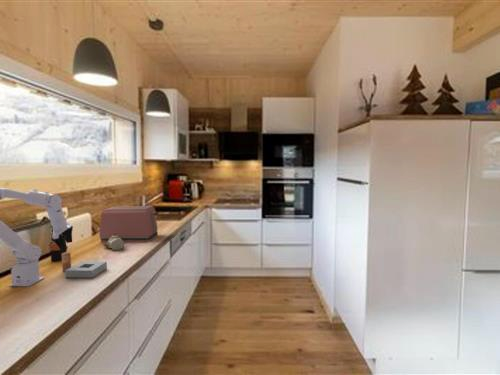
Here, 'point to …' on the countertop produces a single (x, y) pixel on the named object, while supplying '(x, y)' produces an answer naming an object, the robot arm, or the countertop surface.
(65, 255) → the peg
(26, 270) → the robot arm
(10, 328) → the countertop surface
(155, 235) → the toaster
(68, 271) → the socket block
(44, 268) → the countertop surface
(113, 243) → the ceramic sculpture
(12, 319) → the countertop surface
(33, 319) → the countertop surface
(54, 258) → the battery
